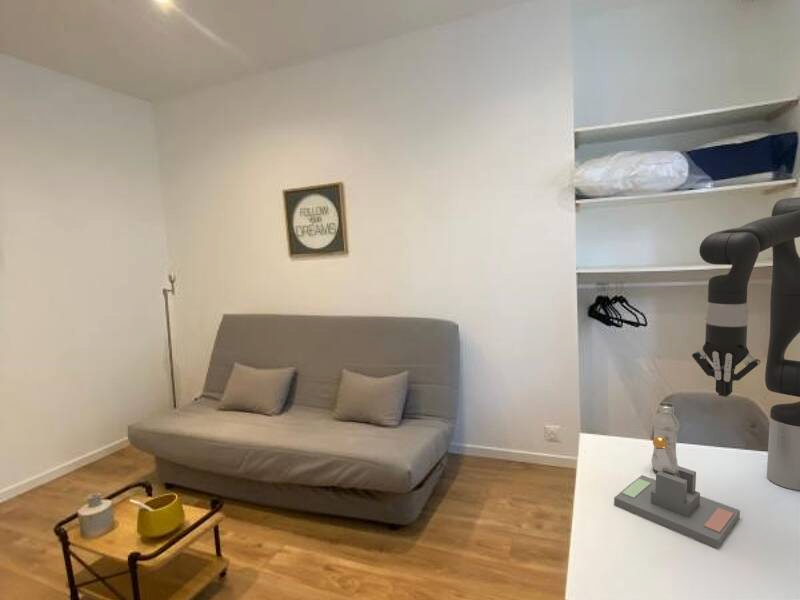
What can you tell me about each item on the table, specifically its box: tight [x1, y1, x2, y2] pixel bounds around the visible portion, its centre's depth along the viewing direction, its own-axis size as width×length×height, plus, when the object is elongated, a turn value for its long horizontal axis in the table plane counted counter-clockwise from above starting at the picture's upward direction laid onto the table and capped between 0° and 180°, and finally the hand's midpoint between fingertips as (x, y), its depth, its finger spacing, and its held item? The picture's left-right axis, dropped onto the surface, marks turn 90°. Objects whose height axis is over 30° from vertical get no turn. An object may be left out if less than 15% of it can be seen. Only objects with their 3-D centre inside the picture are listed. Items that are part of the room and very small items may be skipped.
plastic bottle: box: [651, 402, 680, 473], centre depth 124 cm, size 6×7×20 cm
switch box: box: [613, 465, 741, 550], centre depth 106 cm, size 16×22×10 cm
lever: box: [652, 436, 681, 478], centre depth 107 cm, size 3×3×13 cm
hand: (723, 395), depth 101 cm, fingers closed
